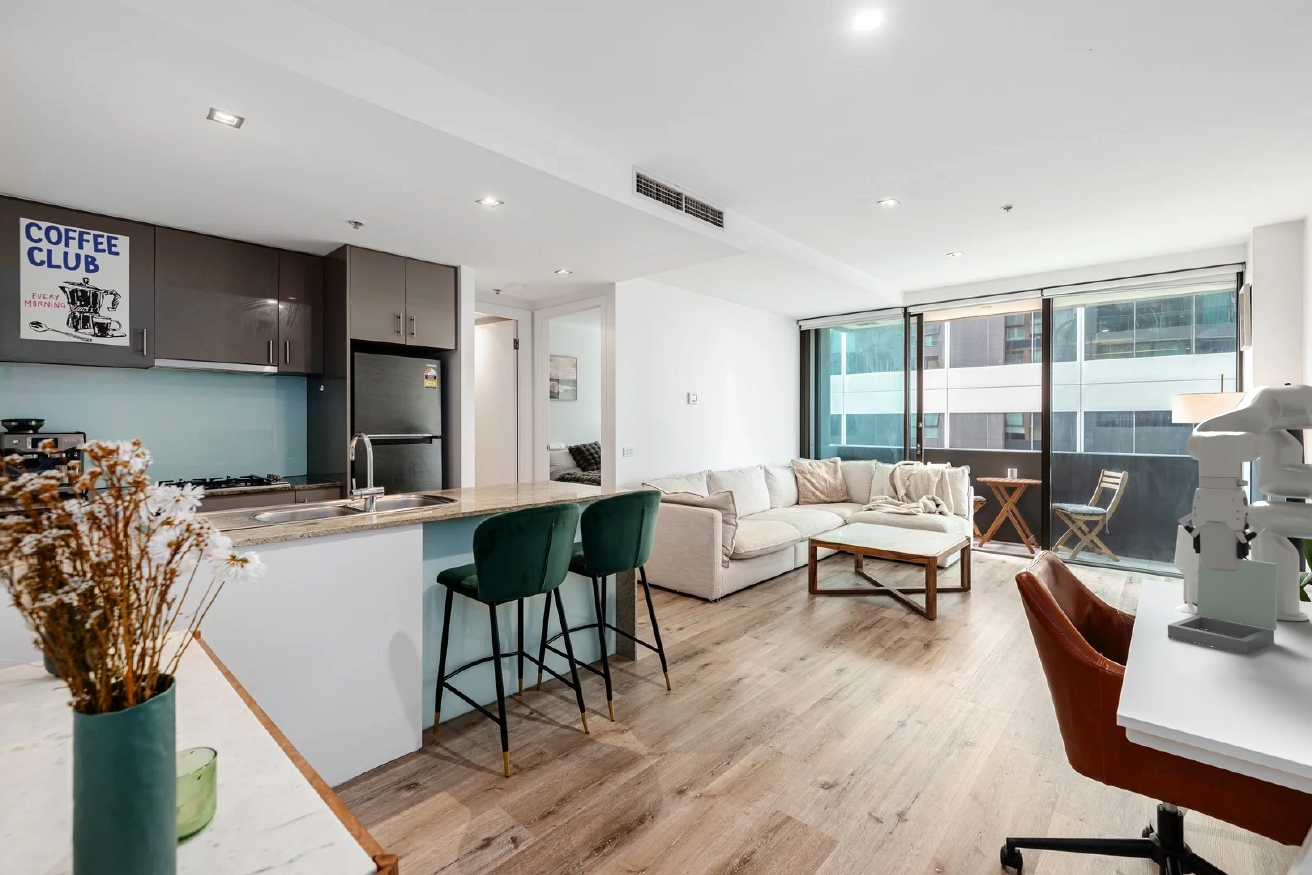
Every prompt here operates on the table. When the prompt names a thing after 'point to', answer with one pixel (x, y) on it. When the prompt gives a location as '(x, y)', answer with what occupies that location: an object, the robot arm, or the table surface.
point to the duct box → (1248, 644)
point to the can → (1219, 547)
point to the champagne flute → (1186, 564)
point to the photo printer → (1194, 589)
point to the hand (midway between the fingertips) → (1220, 555)
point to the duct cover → (1240, 594)
